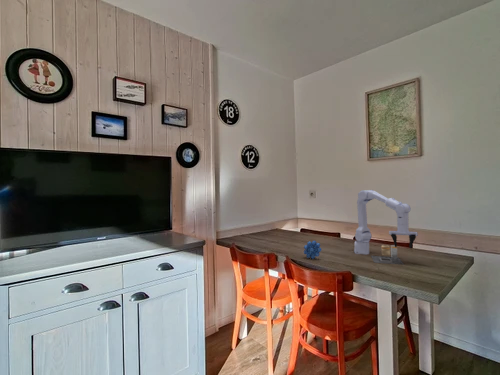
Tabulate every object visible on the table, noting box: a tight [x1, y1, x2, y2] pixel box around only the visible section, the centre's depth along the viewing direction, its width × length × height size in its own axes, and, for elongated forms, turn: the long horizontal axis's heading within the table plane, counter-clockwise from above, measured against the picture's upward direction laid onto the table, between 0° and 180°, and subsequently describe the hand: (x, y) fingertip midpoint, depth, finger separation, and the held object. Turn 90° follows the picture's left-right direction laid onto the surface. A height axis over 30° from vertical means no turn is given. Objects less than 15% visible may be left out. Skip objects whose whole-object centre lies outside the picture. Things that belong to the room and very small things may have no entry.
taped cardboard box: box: [380, 245, 391, 257], centre depth 159 cm, size 4×4×5 cm
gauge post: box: [390, 244, 398, 260], centre depth 165 cm, size 3×3×8 cm
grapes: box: [303, 240, 322, 260], centre depth 171 cm, size 12×7×12 cm, turn 63°
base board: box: [370, 255, 405, 265], centre depth 162 cm, size 16×16×2 cm
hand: (403, 247), depth 155 cm, fingers open, 7 cm apart
